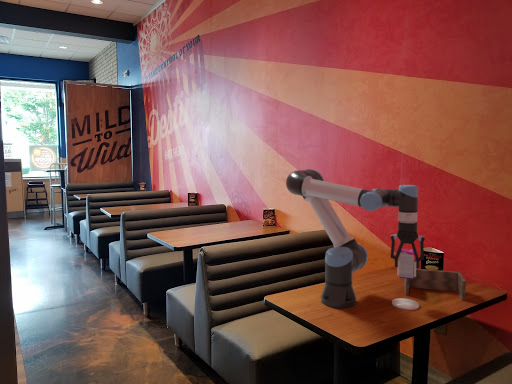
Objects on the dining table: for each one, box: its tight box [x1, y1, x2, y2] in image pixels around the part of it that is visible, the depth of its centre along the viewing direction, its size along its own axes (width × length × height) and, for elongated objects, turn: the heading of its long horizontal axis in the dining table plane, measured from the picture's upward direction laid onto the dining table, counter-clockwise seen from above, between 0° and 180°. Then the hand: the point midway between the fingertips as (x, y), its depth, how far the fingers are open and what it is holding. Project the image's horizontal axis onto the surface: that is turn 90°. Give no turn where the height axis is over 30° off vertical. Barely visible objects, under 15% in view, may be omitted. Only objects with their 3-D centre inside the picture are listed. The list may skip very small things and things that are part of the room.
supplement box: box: [398, 248, 415, 279], centre depth 167 cm, size 6×6×12 cm
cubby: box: [403, 268, 467, 302], centre depth 181 cm, size 24×13×9 cm, turn 72°
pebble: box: [391, 298, 420, 311], centre depth 168 cm, size 11×11×1 cm
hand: (406, 275), depth 166 cm, fingers closed on supplement box, 6 cm apart
